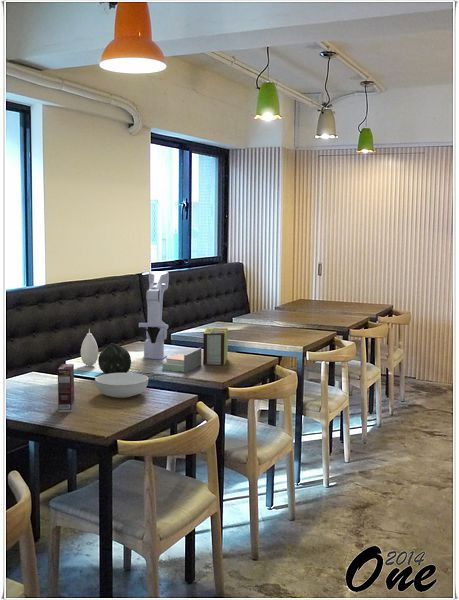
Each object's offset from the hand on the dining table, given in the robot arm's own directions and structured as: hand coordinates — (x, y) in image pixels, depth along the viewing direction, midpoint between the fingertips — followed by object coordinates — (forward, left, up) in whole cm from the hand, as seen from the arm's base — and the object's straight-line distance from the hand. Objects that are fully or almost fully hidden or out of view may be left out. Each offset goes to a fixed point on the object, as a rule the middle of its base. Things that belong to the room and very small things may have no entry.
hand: (153, 343), depth 314 cm
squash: (-7, -24, -11) cm, 27 cm away
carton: (+15, 0, -11) cm, 18 cm away
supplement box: (+4, -79, -11) cm, 80 cm away
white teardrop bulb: (-25, -16, -11) cm, 32 cm away
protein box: (+25, +18, -11) cm, 32 cm away
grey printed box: (+16, 0, -10) cm, 19 cm away
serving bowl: (+13, -54, -11) cm, 56 cm away
